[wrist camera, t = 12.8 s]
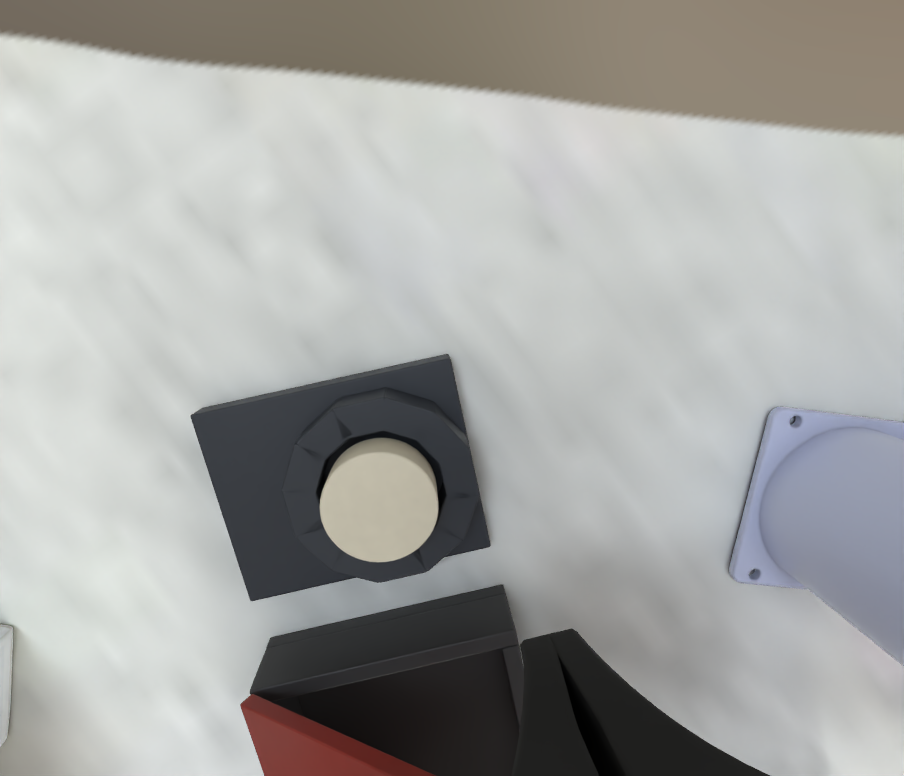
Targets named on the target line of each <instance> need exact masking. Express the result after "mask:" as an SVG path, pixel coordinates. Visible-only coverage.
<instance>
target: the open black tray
mask: <svg viewBox="0 0 904 776" xmlns="http://www.w3.org/2000/svg"><path fill="white" fill-rule="evenodd" d="M523 692H524V667H523V662H522V657H521V653H520V648H519V644H518V639H517V634H516V629H515V626H514V622H513V619H512V615H511V612H510V608H509V605H508V601H507V598H506V594H505V590H504V587H503V585H499V586H494V587H490V588H486V589H481V590H477V591H473V592H468V593H464V594H460V595H455V596H451V597H447V598H442V599H438V600H433V601H429V602H425V603H420V604H416V605H412V606H407V607H403V608H399V609H394V610H390V611H386V612H381V613H377V614H372V615H368V616H364V617H359V618H355V619H351V620H346V621H342V622H338V623H333V624H329V625H325V626H320V627H316V628H312V629H307V630H303V631H298V632H294V633H290V634H285V635H281V636H277V637H272V638H270V640H269V643H268V645H267V649H266V651H265V654H264V656H263V659H262V661H261V664H260V666H259V669H258V671H257V674H256V676H255V679H254V681H253V684H252V686H251V689H250V694H251V695H252V694H254V695H257V696H259V697H261V698H263V699H266V700H268V701H270V702H272V703H275V704H277V705H279V706H281V707H283V708H286V709H288V710H290V711H292V712H295V713H297V714H299V715H301V716H304V717H306V718H308V719H310V720H313V721H315V722H317V723H319V724H322V725H324V726H326V727H328V728H331V729H333V730H335V731H337V732H339V733H342V734H344V735H346V736H348V737H351V738H353V739H355V740H357V741H360V742H362V743H364V744H366V745H369V746H371V747H373V748H375V749H378V750H380V751H382V752H384V753H386V754H389V755H391V756H393V757H395V758H398V759H400V760H402V761H404V762H407V763H409V764H411V765H413V766H416V767H418V768H420V769H422V770H425V771H427V772H429V773H431V774H433V775H436V776H511V773H512V769H513V764H514V760H515V755H516V750H517V745H518V739H519V732H520V724H521V717H522V708H523Z"/></svg>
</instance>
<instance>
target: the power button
mask: <svg viewBox="0 0 904 776" xmlns="http://www.w3.org/2000/svg"><path fill="white" fill-rule="evenodd" d="M438 509H439V508H438V493H437V484H436V478H435V475H434V472H433V469H432V467H431V465H430V464H429V462H428V461H427V459H426V458H425V457H424V456H423V455H422V454H421V453H420V452H419V451H418V450H417V449H415V448H414V447H412V446H411V445H409V444H407V443H405V442H402V441H399V440H396V439H391V438H373V439H368V440H364V441H361V442H359V443H357V444H355V445H353V446H351V447H350V448H348V449H347V450H346V451H345V452H343V453H342V454H341V455H340V456H339V458H338V459H337V460H336V462H335V463H334V465H333V467H332V469H331V471H330V473H329V475H328V478H327V480H326V483H325V485H324V488H323V490H322V493H321V498H320V516H321V521H322V524H323V526H324V529H325V531H326V533H327V534H328V536H329V537H330V539H331V540H332V541H333V542H334V543H335V544H336V546H338V547H339V548H340V549H341V550H342V551H344V552H345V553H347V554H349V555H351V556H353V557H355V558H357V559H361V560H364V561H369V562H388V561H394V560H397V559H400V558H403V557H405V556H407V555H409V554H411V553H412V552H414V551H415V550H417V549H418V548H419V547H420V546H421V545H422V544H423V543H424V542H425V541H426V540H427V539H428V537H429V536H430V534H431V533H432V531H433V529H434V526H435V524H436V521H437V517H438Z"/></svg>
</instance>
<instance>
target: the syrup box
mask: <svg viewBox="0 0 904 776" xmlns="http://www.w3.org/2000/svg"><path fill="white" fill-rule="evenodd" d="M12 650H13V627H12V626H9V625H1V624H0V746H1V745H2V744H3V743H4V742H5V740H6V739H7V735H8V727H9V716H10V703H11V683H12Z"/></svg>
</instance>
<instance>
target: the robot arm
mask: <svg viewBox="0 0 904 776" xmlns="http://www.w3.org/2000/svg"><path fill="white" fill-rule="evenodd" d="M793 416H795V417H796V420H795V422H794V423H793V424H791V425H790V419H791V418H792V417H793ZM753 569H755V571H754V573H753V574H751V575H749V573H750V571H751V570H753ZM729 574H730V576H731V577H732V578H733V579H734V580H735V581H737V582H739V583H746V584H756V585H767V586H777V587H787V588H798V589H808V590H810V591H811V592H812V593H813V594H814V595H816V596H817V597H818V598H819V599H821V600H822V601H823V602H824V603H826V604H827V605H828V606H829V607H831V608H832V609H833V610H834V611H836V612H837V613H838V614H839V615H841V616H842V617H843V618H844V619H845V620H847V621H848V622H849V623H850V624H852V625H853V626H854V627H855V628H857V629H858V630H859V631H860V632H862V633H863V634H864V635H865V636H867V637H868V638H869V639H870V640H872V641H873V642H874V643H875V644H876V645H878V646H879V647H880V648H881V649H883V650H884V651H885V652H886V653H888V654H889V655H890V656H891V657H893V658H894V659H895V660H896V661H898V662H899V663H900V664H901V665H903V666H904V422H900V421H892V420H884V419H876V418H868V417H861V416H853V415H845V414H837V413H829V412H822V411H814V410H806V409H798V408H790V407H783V406H781V407H776V408H774V409H773V410H772V411H771V412H770V414H769V416H768V419H767V423H766V427H765V431H764V434H763V438H762V442H761V446H760V450H759V454H758V458H757V462H756V465H755V469H754V473H753V477H752V481H751V485H750V489H749V493H748V497H747V500H746V504H745V508H744V512H743V516H742V520H741V524H740V528H739V531H738V535H737V539H736V543H735V547H734V551H733V555H732V559H731V562H730V566H729ZM520 647H521V652H522V657H523V663H524V692H523V708H522V717H521V724H520V732H519V739H518V745H517V750H516V755H515V760H514V764H513V769H512V773H511V776H770V775H768V774H765V773H763V772H761V771H759V770H757V769H755V768H753V767H751V766H749V765H747V764H745V763H743V762H741V761H739V760H738V759H736V758H734V757H732V756H730V755H729V754H727V753H725V752H723V751H722V750H720V749H718V748H716V747H714V746H713V745H711V744H709V743H708V742H706V741H704V740H703V739H701V738H700V737H698V736H697V735H695V734H693V733H692V732H690V731H689V730H687V729H686V728H685V727H683V726H682V725H680V724H679V723H677V722H676V721H674V720H673V719H672V718H670V717H669V716H668V715H666V714H665V713H664V712H662V711H661V710H660V709H658V708H657V707H656V706H654V705H653V704H652V703H651V702H649V701H648V700H647V699H646V698H645V697H643V696H642V695H641V694H640V693H638V692H637V691H636V690H635V689H634V688H633V687H631V686H630V685H629V684H628V683H627V682H626V681H625V680H624V679H623V678H622V677H620V676H619V675H618V674H617V673H616V672H615V671H614V670H613V669H612V668H611V667H610V666H609V665H608V664H607V663H605V662H604V660H603V659H602V658H601V657H600V656H599V655H598V654H597V653H596V652H595V651H594V650H593V649H592V648H591V647H590V646H589V645H588V644H587V643H586V642H585V640H584V639H583V638H582V637H581V636H580V635H579V633H578V632H577V631H575V630H574V629H568V630H564V631H560V632H556V633H551V634H547V635H543V636H539V637H535V638H531V639H527V640H524V641H523V642H522V643H521V645H520Z"/></svg>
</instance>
